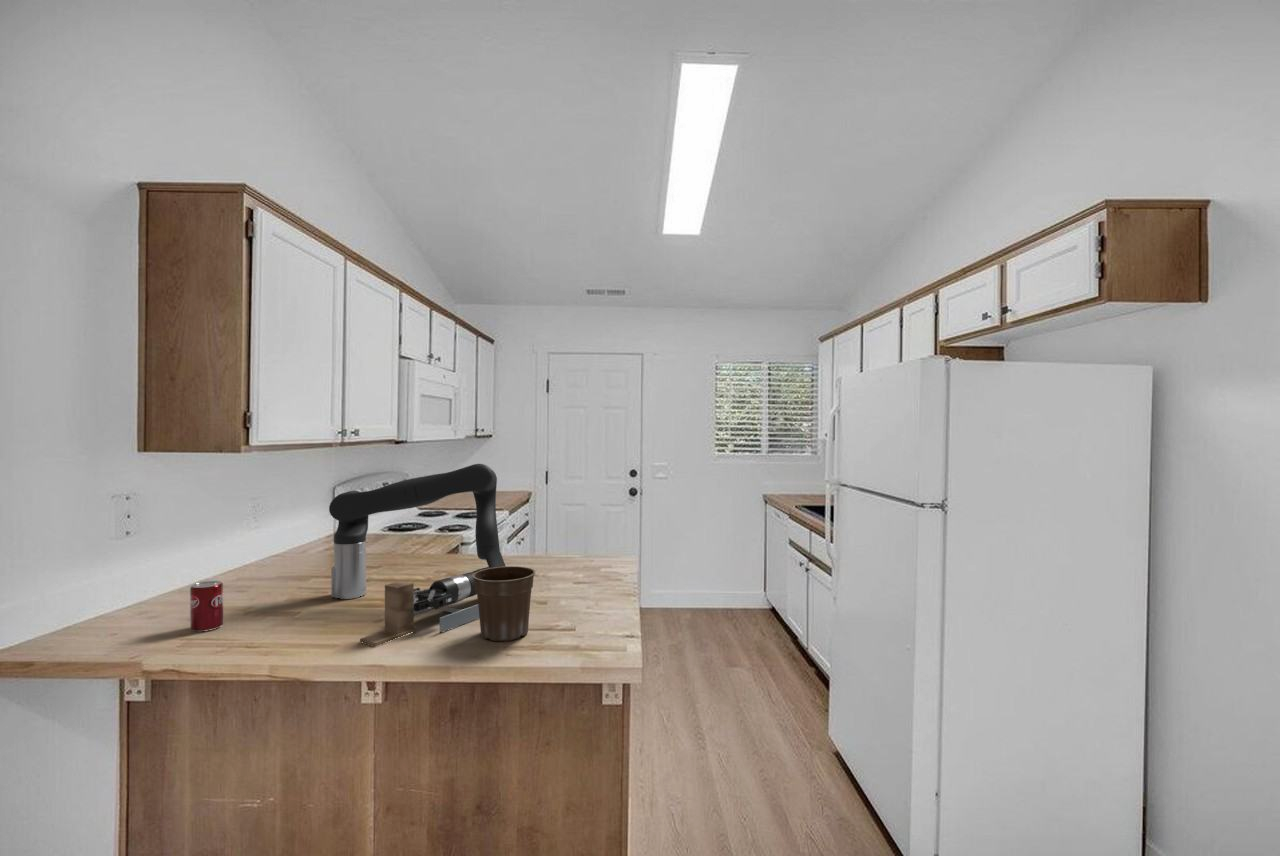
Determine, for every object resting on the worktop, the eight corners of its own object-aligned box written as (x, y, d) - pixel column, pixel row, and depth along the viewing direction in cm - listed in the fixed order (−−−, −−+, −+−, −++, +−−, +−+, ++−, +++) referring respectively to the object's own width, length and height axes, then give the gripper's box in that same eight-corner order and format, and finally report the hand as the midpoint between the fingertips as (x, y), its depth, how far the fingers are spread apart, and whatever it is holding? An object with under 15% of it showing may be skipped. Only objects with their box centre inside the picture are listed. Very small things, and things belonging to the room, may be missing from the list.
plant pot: (468, 628, 166) (468, 568, 166) (527, 620, 172) (527, 563, 172) (477, 648, 151) (477, 583, 151) (542, 639, 157) (542, 576, 157)
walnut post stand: (399, 628, 166) (399, 580, 165) (415, 632, 163) (414, 583, 162) (360, 642, 155) (359, 591, 155) (375, 647, 152) (375, 594, 152)
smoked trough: (437, 606, 185) (437, 593, 185) (484, 616, 176) (484, 602, 176) (392, 621, 172) (392, 606, 171) (441, 633, 162) (441, 618, 162)
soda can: (188, 634, 161) (187, 588, 161) (193, 626, 167) (192, 582, 167) (221, 630, 164) (221, 585, 164) (225, 622, 171) (224, 579, 170)
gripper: (433, 574, 181) (386, 587, 167) (468, 580, 174) (422, 594, 160) (433, 599, 181) (386, 615, 167) (468, 607, 174) (422, 623, 160)
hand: (403, 605), depth 163 cm, fingers open, 8 cm apart
